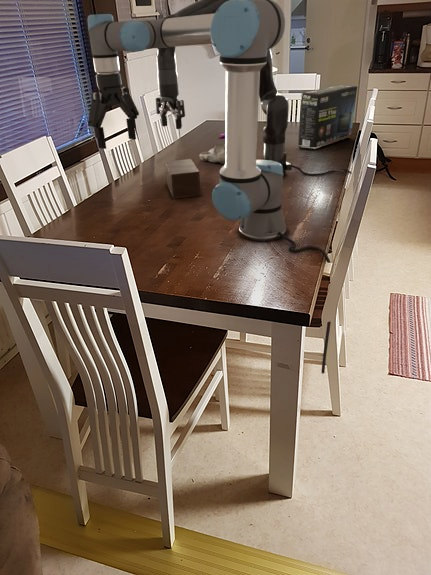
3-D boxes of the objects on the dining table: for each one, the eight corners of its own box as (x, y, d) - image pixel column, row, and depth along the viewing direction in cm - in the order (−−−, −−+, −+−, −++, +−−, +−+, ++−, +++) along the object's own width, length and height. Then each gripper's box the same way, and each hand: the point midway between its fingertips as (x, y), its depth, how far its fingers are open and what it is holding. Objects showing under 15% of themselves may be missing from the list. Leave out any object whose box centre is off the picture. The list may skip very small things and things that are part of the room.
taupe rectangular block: (167, 184, 195) (164, 161, 190) (192, 181, 197) (190, 159, 192) (173, 198, 180) (171, 174, 175) (200, 195, 182) (199, 171, 177)
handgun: (220, 136, 265) (220, 133, 264) (233, 135, 266) (233, 132, 265) (227, 145, 248) (227, 141, 247) (241, 143, 249) (241, 140, 248)
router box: (314, 151, 231) (318, 94, 217) (296, 148, 237) (299, 92, 224) (352, 138, 251) (358, 85, 238) (335, 135, 258) (340, 83, 245)
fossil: (225, 158, 212) (204, 137, 215) (214, 176, 219) (193, 156, 222) (245, 155, 226) (224, 135, 229) (233, 173, 232) (213, 153, 235)
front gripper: (128, 68, 151) (136, 134, 162) (67, 77, 133) (81, 150, 144) (144, 68, 147) (151, 136, 158) (84, 78, 130) (97, 153, 141)
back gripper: (188, 82, 167) (191, 128, 176) (163, 79, 176) (167, 123, 185) (172, 84, 163) (176, 131, 171) (148, 82, 172) (152, 126, 180)
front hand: (118, 143), depth 151 cm, fingers open, 13 cm apart
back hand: (171, 127), depth 178 cm, fingers open, 8 cm apart
